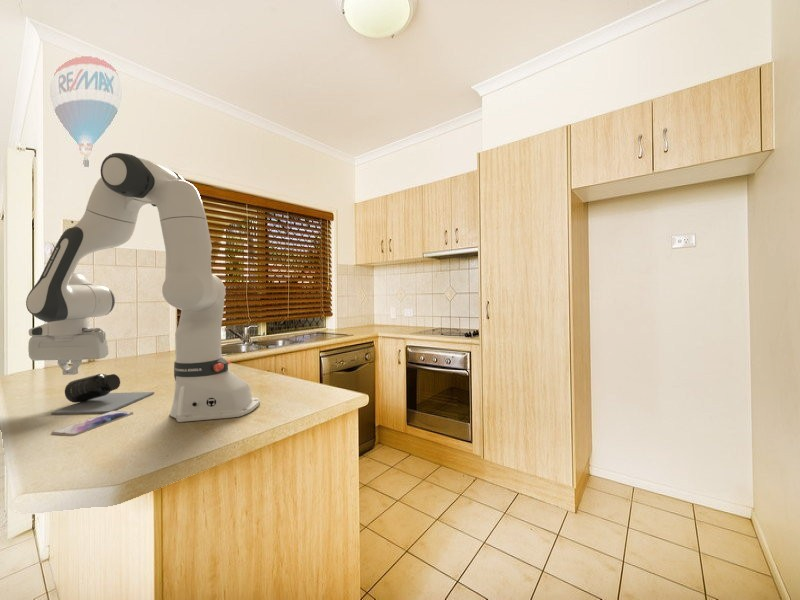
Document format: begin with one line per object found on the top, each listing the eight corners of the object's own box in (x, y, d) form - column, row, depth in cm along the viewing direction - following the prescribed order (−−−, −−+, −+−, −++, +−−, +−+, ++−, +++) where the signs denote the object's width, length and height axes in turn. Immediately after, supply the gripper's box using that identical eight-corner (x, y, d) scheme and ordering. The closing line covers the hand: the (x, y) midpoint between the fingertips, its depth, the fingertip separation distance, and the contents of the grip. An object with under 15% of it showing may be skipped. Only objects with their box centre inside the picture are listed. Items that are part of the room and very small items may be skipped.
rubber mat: (154, 393, 112) (154, 392, 112) (109, 413, 94) (109, 411, 94) (105, 394, 111) (105, 393, 111) (51, 414, 93) (51, 412, 93)
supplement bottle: (84, 380, 106) (123, 371, 107) (84, 402, 105) (123, 393, 105) (63, 380, 100) (104, 370, 100) (62, 403, 98) (105, 393, 99)
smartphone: (134, 412, 93) (74, 434, 79) (134, 415, 93) (74, 438, 79) (113, 410, 95) (49, 432, 80) (113, 413, 95) (49, 435, 80)
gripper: (113, 326, 105) (114, 371, 105) (44, 328, 104) (46, 372, 104) (95, 328, 99) (97, 376, 99) (22, 330, 98) (24, 377, 98)
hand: (70, 374), depth 102 cm, fingers closed
